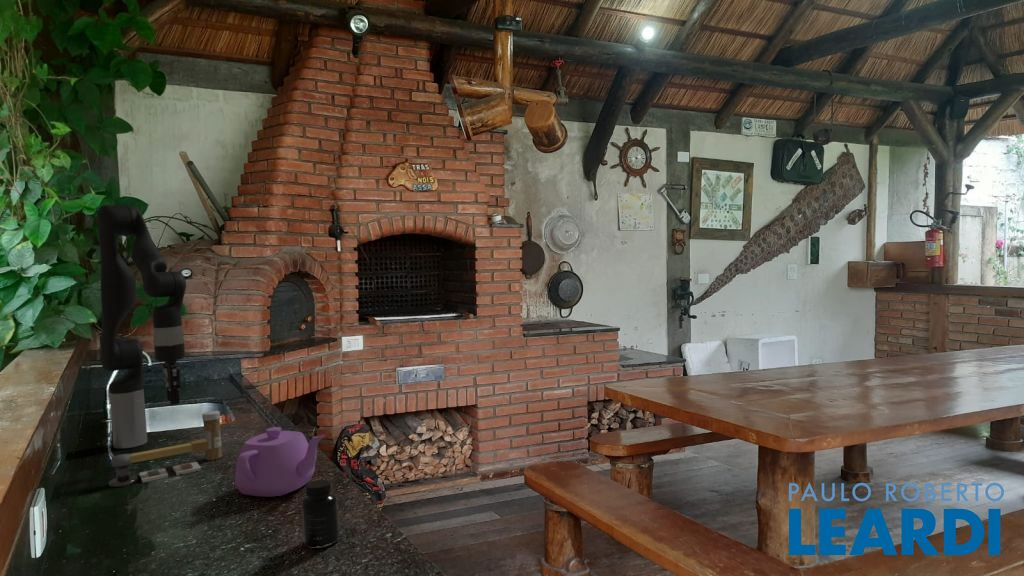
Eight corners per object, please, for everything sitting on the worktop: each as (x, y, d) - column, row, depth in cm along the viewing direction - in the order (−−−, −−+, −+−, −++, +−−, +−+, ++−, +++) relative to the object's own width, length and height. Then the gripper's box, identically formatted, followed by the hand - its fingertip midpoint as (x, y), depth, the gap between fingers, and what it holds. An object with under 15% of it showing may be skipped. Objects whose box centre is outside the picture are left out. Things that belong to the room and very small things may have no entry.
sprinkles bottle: (223, 458, 186) (220, 412, 185) (206, 461, 184) (203, 415, 183) (221, 454, 190) (218, 409, 189) (204, 457, 188) (200, 412, 187)
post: (108, 482, 170) (106, 465, 169) (136, 476, 173) (134, 459, 173) (109, 489, 164) (108, 471, 164) (138, 483, 168) (137, 465, 168)
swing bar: (111, 464, 169) (110, 455, 169) (205, 446, 182) (204, 438, 182) (112, 468, 165) (112, 459, 165) (208, 450, 178) (207, 441, 178)
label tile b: (172, 469, 179) (172, 465, 178) (196, 464, 182) (196, 460, 182) (176, 475, 173) (176, 471, 173) (201, 470, 176) (200, 466, 176)
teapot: (212, 504, 151) (208, 441, 150) (271, 474, 171) (268, 417, 170) (295, 513, 144) (291, 446, 144) (347, 480, 164) (343, 421, 164)
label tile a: (139, 475, 174) (139, 471, 174) (164, 470, 177) (164, 466, 177) (142, 482, 168) (142, 478, 168) (168, 477, 172) (168, 473, 172)
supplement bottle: (308, 535, 132) (305, 478, 132) (342, 533, 133) (339, 476, 132) (300, 551, 125) (296, 490, 125) (336, 548, 126) (332, 488, 125)
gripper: (150, 341, 186) (155, 400, 187) (157, 346, 174) (161, 408, 175) (179, 338, 190) (183, 395, 191) (188, 343, 178) (192, 404, 179)
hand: (173, 401), depth 183 cm, fingers open, 5 cm apart
